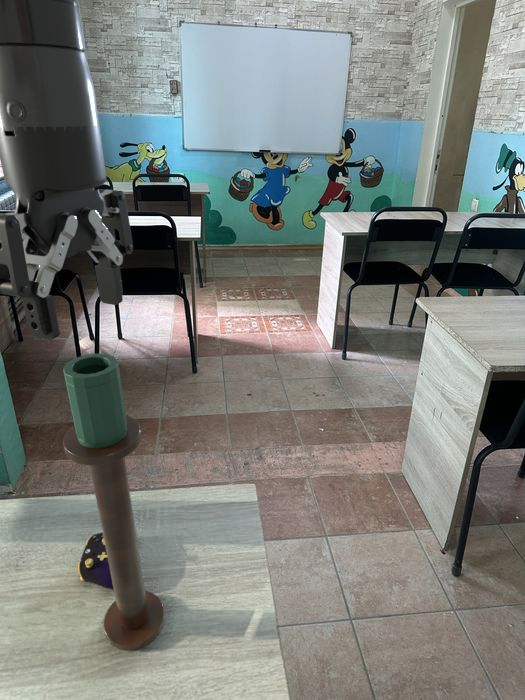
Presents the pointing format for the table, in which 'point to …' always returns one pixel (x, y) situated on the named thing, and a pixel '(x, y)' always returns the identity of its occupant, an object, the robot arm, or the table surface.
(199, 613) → the table surface
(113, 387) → the jar
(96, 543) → the gaming controller
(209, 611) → the table surface
